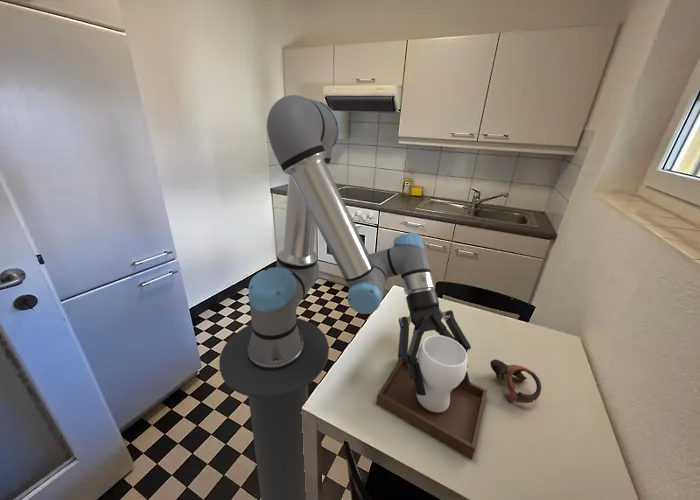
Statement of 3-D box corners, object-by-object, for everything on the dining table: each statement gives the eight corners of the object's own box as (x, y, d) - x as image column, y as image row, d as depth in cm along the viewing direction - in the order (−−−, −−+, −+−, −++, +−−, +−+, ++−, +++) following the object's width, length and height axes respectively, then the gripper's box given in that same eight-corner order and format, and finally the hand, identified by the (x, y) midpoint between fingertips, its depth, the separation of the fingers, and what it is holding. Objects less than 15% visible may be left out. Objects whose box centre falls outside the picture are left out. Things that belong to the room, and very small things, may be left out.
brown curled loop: (535, 385, 74) (551, 378, 67) (520, 416, 70) (536, 412, 64) (491, 355, 79) (502, 346, 73) (475, 382, 75) (486, 375, 69)
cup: (458, 390, 69) (472, 343, 63) (451, 427, 61) (467, 376, 55) (416, 373, 74) (426, 327, 68) (404, 405, 65) (414, 356, 59)
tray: (376, 403, 66) (377, 394, 65) (403, 360, 79) (404, 351, 78) (471, 459, 56) (475, 449, 55) (484, 398, 69) (487, 389, 68)
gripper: (382, 294, 63) (403, 402, 56) (468, 284, 69) (498, 380, 62) (372, 301, 70) (390, 398, 62) (451, 291, 76) (476, 379, 69)
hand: (444, 389), depth 62 cm, fingers closed on cup, 11 cm apart
